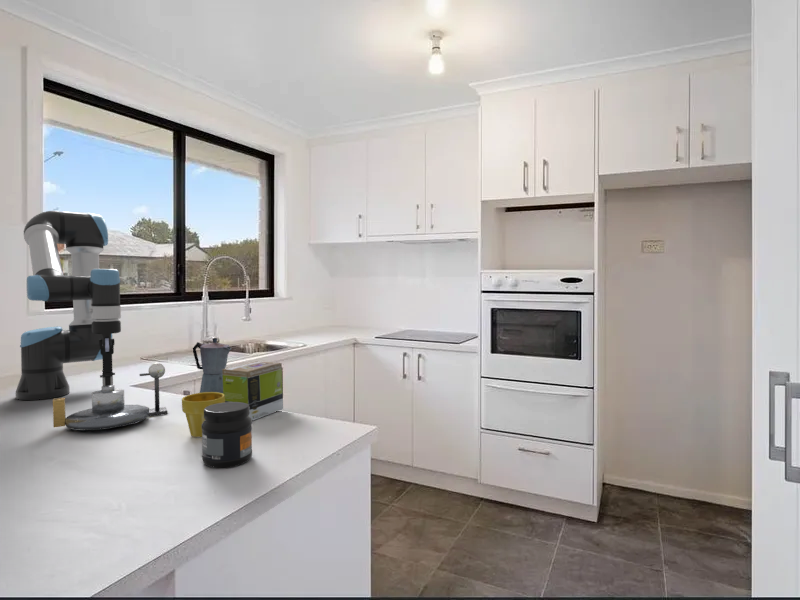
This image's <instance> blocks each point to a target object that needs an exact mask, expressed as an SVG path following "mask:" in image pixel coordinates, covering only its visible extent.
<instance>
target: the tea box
mask: <svg viewBox="0 0 800 600" xmlns="http://www.w3.org/2000/svg"><path fill="white" fill-rule="evenodd" d="M222 371H223V394H224V395H225V402H243V403H247V404H248V405H249V406H250V414H249V415H248V416H249V417H250V418H251V419H252V420H253V421H256V420H258V419H260V418H263V417H266V416H268V415H272V414H274V413H276V412H275V411H277V412H279V411H282V410H284V398H283V397H284V396H283V395H284V394H283V393H284V392H283V390H284V389H283V388H284V387H283V367H282V362H272V361H259V360H257V361H253V362H252V361H251V362H247V363H245V364H244V363H242V364H239V365H235V366H231V367H225V369H223V370H222Z"/></svg>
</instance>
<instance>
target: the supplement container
mask: <svg viewBox="0 0 800 600" xmlns="http://www.w3.org/2000/svg"><path fill="white" fill-rule="evenodd" d="M249 414H250V406H249V405H248V404H247V403H243V402H223V403H217V404H213V405H209V406H207V407H206V408H204V419H205V420H204V422H203V423H202V425H201V428H202V437H201V439H202V440H201V441H202V442H201V443H202V445H201V446H202V447H201V448H202V453H201V454H202V455H201V459H202V462H203V464H204V465H206V466H207V467H209V468H216V469H225V468H226V469H228V468H234V467H238V466H240V465H243V464H245V463H247V462H248V461H249V460H250V459H251V458H252V456H253V436H252V435H253V432H252V431H253V430H252V424H253V421H252V419H251V418H250V417H249V416H248V415H249Z"/></svg>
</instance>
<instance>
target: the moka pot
mask: <svg viewBox="0 0 800 600" xmlns="http://www.w3.org/2000/svg"><path fill="white" fill-rule="evenodd" d="M197 349H199V351H200V352H199V353H200V362H201V364H200V362H199V357H198V352H197ZM231 350H232V347H230V345H229V344H225V343H220V342H218V338H216V337H214V338H212V342H210V343H202V342H198V341H197V342H196V344H195V345H194V346H193V347H192V353H193V356H194V361H195V365H196V368H197V369H198V370H201V371H202V372H203V373H202V375H201V382H200V388H199V393H203V392H219V393H223V371H222V370H223V369H226V368H227V363H228V357H229V353H230V351H231Z"/></svg>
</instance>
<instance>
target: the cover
mask: <svg viewBox="0 0 800 600" xmlns="http://www.w3.org/2000/svg"><path fill="white" fill-rule="evenodd" d="M124 405H125V389H123V388H115V385H114V384H113V385H106V386H103V385H102V386H101V390H95V391H93V392H91V407H92V408H91V409H92V411H93V412H96V413H105V412H113V411H118V410H121V409H123V408H124V407H125V406H124Z"/></svg>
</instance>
